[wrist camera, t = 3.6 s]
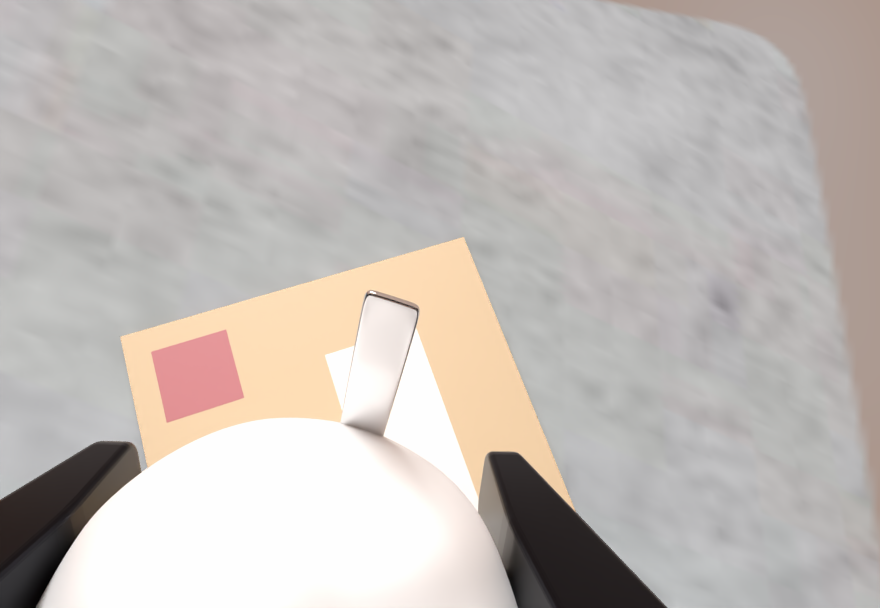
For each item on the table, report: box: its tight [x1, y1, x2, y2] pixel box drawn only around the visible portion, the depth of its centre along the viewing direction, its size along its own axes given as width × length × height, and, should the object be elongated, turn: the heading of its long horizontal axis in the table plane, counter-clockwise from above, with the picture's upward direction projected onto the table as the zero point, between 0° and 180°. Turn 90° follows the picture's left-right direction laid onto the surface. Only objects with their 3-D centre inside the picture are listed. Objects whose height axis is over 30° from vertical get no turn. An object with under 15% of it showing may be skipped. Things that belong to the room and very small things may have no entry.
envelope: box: [120, 237, 576, 512], centre depth 13 cm, size 12×9×1 cm
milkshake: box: [36, 290, 518, 608], centre depth 8 cm, size 4×5×10 cm
